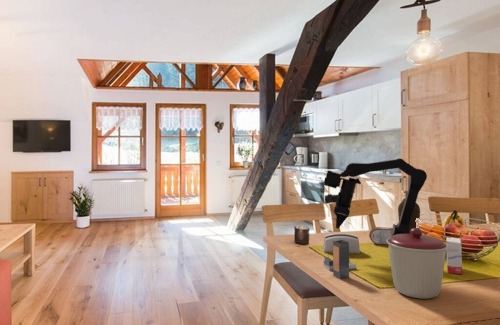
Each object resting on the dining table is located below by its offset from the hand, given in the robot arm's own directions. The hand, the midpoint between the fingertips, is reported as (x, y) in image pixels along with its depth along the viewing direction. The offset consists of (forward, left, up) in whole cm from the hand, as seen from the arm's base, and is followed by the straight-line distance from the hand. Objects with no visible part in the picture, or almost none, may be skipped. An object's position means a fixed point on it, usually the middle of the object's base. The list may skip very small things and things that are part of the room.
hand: (337, 226), depth 148 cm
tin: (-9, -35, -14) cm, 39 cm away
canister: (-36, +19, -14) cm, 43 cm away
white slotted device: (+3, -10, -15) cm, 18 cm away
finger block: (-10, +20, -14) cm, 27 cm away
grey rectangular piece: (-5, +10, -14) cm, 18 cm away
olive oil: (-15, -55, -14) cm, 59 cm away
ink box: (-42, -12, -14) cm, 46 cm away
